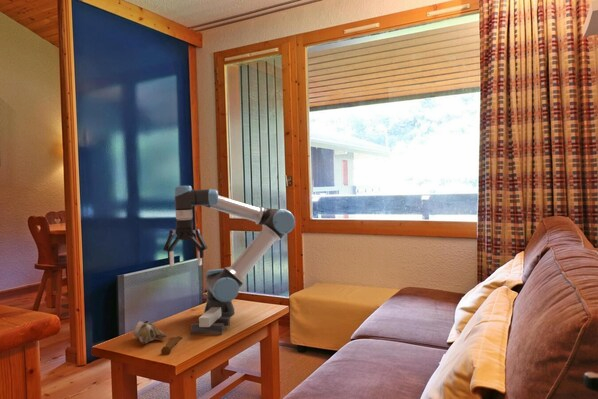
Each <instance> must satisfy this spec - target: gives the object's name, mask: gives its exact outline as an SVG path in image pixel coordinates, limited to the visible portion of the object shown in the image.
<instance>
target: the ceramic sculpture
mask: <svg viewBox="0 0 598 399" xmlns="http://www.w3.org/2000/svg"><path fill="white" fill-rule="evenodd" d="M133 336H134V337H135V338H136V339H137V340H138V341H139V343H140V344H142V345H147V344H148V343H150V342H153V341H154V340H156V339H158V340H160V339H161V340H162V339H165V338H167V337H168V336H167V335H166V334H165V333H164V332H163V331H162V330H159V329H158V328H157V327H156V325H154V324H153V323H151V322H150V321H149V320H146V321H141V320H138V321H137V324H136V325H135V327H134V330H133Z"/></svg>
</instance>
